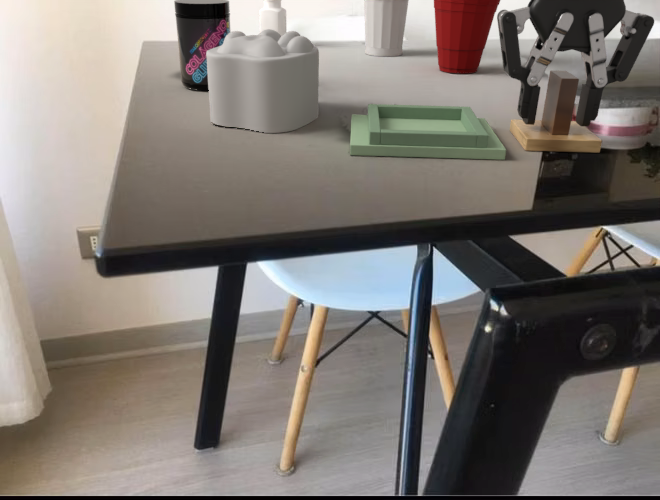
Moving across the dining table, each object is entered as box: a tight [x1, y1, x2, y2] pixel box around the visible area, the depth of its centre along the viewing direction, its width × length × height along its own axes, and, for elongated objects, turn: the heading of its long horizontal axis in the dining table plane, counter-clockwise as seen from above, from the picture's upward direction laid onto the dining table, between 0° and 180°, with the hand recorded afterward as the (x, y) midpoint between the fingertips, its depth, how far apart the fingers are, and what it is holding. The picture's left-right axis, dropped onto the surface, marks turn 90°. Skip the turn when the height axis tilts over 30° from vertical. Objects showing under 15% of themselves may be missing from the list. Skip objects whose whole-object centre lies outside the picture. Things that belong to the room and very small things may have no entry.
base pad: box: [349, 103, 507, 161], centre depth 61 cm, size 14×11×2 cm
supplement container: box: [173, 0, 232, 90], centre depth 80 cm, size 7×7×10 cm
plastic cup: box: [433, 0, 501, 75], centre depth 93 cm, size 11×11×12 cm
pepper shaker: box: [258, 0, 288, 36], centre depth 112 cm, size 4×4×10 cm
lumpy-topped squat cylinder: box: [206, 29, 320, 134], centre depth 68 cm, size 10×13×9 cm
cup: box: [363, 0, 409, 57], centre depth 106 cm, size 8×8×12 cm
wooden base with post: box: [509, 69, 603, 154], centre depth 61 cm, size 7×7×6 cm
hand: (555, 122), depth 62 cm, fingers open, 4 cm apart
